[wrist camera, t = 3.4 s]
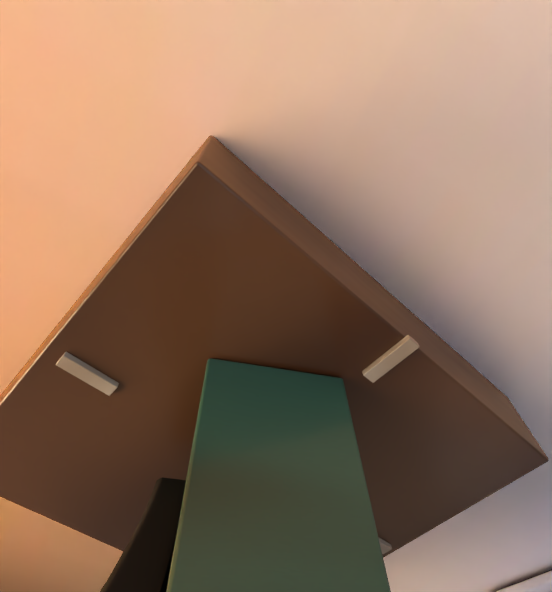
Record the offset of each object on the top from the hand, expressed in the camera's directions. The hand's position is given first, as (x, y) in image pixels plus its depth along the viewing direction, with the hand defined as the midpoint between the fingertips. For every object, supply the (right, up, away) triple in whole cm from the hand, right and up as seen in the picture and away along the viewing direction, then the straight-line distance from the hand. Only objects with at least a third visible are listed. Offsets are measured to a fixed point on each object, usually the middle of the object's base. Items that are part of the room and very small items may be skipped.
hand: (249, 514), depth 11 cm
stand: (0, +2, +3) cm, 4 cm away
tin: (0, +1, +1) cm, 1 cm away
